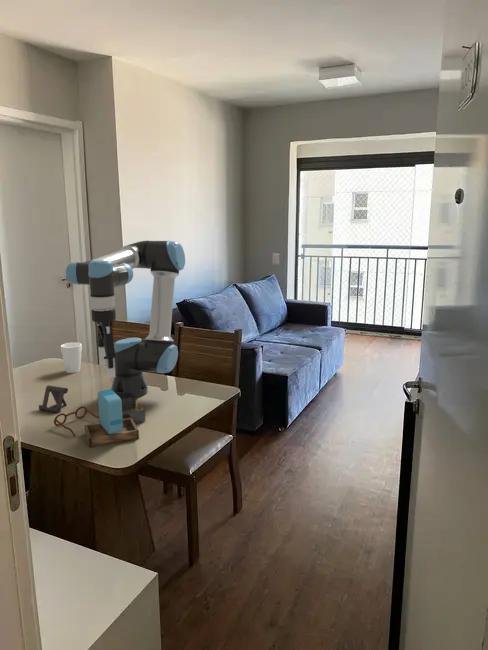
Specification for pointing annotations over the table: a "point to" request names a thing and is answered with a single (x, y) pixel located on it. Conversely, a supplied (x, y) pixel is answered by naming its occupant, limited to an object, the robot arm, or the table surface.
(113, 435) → the tray
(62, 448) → the table surface
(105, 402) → the data package
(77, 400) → the table surface
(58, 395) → the portable electronic device stand
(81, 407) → the glasses
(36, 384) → the table surface
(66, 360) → the foam cup
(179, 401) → the table surface
